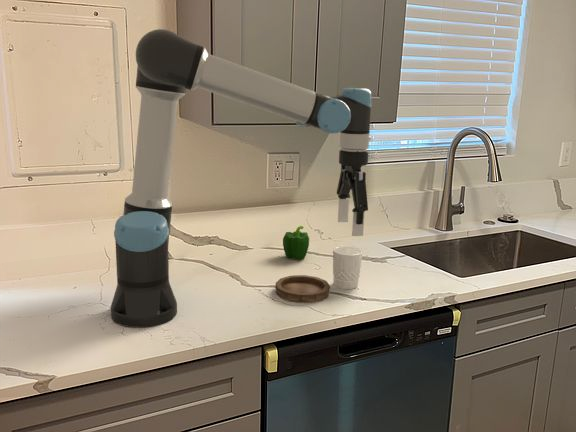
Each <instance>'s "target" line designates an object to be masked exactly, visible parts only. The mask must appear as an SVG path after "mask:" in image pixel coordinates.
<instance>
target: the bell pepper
mask: <svg viewBox="0 0 576 432" xmlns="http://www.w3.org/2000/svg"><path fill="white" fill-rule="evenodd" d="M303 229H304V226H303V225H299V226H298V227H296V230H295V231H292V232H291V231H286V232H285V233H284V236H283V238H282V247H283V250H284V251H283V252H284V255H285V256H286V257H287V259H292V260H295V261H301V260H304V259H305V258H306V256H307V254H308V250H309V246H310V237H309V234H308V232H305V231H304V232H302V231H300V230H303Z"/></svg>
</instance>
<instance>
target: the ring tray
mask: <svg viewBox="0 0 576 432" xmlns="http://www.w3.org/2000/svg"><path fill="white" fill-rule="evenodd" d="M330 291H331V285H330V284H329V283H328V281H327V280H325V279H323V278H320V277H318V276H311V275H307V274H304V275H303V274H302V275H301V274H300V275H299V274H298V275H288V276H284V277H281V278H279V279H278V280H277V281H276V282H275V293H276V295H277V296H278V297H279V298H280V299H283V301H287V302H292V303H297V304H312V303H318V302H322V301H324V300H326V299H327V298H329V295H330Z"/></svg>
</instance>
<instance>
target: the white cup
mask: <svg viewBox="0 0 576 432" xmlns="http://www.w3.org/2000/svg"><path fill="white" fill-rule="evenodd" d="M362 259H363V250H362V249H360V248H358V247H355V246H349V245H342V246H337V247H334V248H333V249H332V275H333V279H332V280H333V281H332V283H333V286H334V287H335V288H338V289H342V290H355V289H357V288H358V287H359V278H360V274H361V267H362Z"/></svg>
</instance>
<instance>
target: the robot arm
mask: <svg viewBox="0 0 576 432" xmlns="http://www.w3.org/2000/svg"><path fill="white" fill-rule="evenodd" d="M135 61H136V64H137V69H136V79H135V88H136V89H137V91H138V92H139V94H140V106H139V107H140V108H139V116H138V128H137V136H136V137H137V138H136V147H135V148H136V150H135V157H134V158H135V159H134V166H133V167H134V168H133V178H132V186H131V188H132V189H131V193H130V194H129V195H128V196H127V197H125V198H124V203H123V215H121V216H120V217H119V218H117V220H116V222H115V224H114V231H113V237H114V240H115V241H114V242H115V257H116V258H115V260H116V263H115V264H116V281H117V283H116V284H117V285H116V288H115V292H114V295H113V298H112V301H111V305H110V319H111V320H112V321H113V322H114V323H116V324H118V325H121V326H124V327H131V328H148V327H155V326H160V325H162V324H164V323H167V322H169V321H171V320H172V319H174V318H175V317H176V316H177V314H178V301H177V299H176V297H175V294H174V291H173V288H172V287H171V283H170V276H169V275H170V273H169V272H170V270H169V269H170V268H169V266H170V265H169V264H170V263H169V242H170V241H169V240H170V234H171V233H170V232H171V228H172V227H171V226H172V225H171V221H172V213H173V202H172V200H170V198H169V197H168V194H169V186H170V185H169V184H170V182H169V181H170V175H171V165H172V158H173V157H172V156H173V149H174V140H175V131H176V121H177V113H178V106H179V105H178V104H179V100H180V99H182V97H184V96H185V95H186V91H187V90H188V91H195V90H197V89H201V90H204V91H207V92H209V93H210V92H211V93H212V94H214V95H219V96H221V97H225V98H227V99H231V100H234V101H237V102H239V103H241V104H244V105H248V106H252V107H254V108H257V109H261V110H262V111H266V112H268V113H272V114H274V115H275V114H276V115H277V116H281V117H283V118H287V119H290V120H293V121H294V122H295V124H296V126H299V127H306V128H308V127H313V128H315V129H318V130H322V131H323V132H325V133H329V134H338V133H339V144H338V145H339V146H338V147H339V148H340V150H339V151H338V152H339V153H338V154H339V155H338V163H339V164H340V173H339V179H338V184H337V188H336V195H337V196H338V208H337V209H338V211H337V222H338V223H348V222H349V210H350V207H349V206H350V205H349V203H350V198H351V196H352V201H353V207H354V208H353V209H352V210H351V211H352V228H351V229H352V230H351V236H352V237H363V236H364V225H365V212H366V211H367V212H368V211H369V206H368V205H369V204H368V196H367V195H368V194H367V184H366V179H367V178H366V177H367V176H366V175H367V174H366V172H365V171H362V167H364V166H367V165H368V164H369V163H368V162H369V151H368V150H367V149H369V146H370V140H371V139H372V136H370V133H371V132H370V131H371V130H370V127H371V117H372V116H371V115H372V109H373V107H372V92H371V90H370V89H368V88H357V87H356V88H355V87H346V88H345V87H344V88H343V89H342V91H341V94H340V95H335V96H331V95H325V94H322V93H319V92H316V91H314V90H311V89H308V88H305V87H303V86H299V85H296V84H294V83H292V82H288V81H285V80H283V79H281V78H277V77H274V76H272V75H270V74H266V73H264V72H262V71H261V72H260V71H258V70H255V69H252V68H249V67H246V66H244V65H241V64H238V63H235V62H233V61H230V60H227V59H225V58H222V57H218V56H216V55H213V54H210V53H209V52H208V50H207V49H206V47H205V46H202V45H199V44H197V43H195V42H192V41H190V40H188V39H187V38H185V37H183V36H182V35H181V36H180V35H179V34H178V33H175V32H174V31H171V30H169V29H161V28H157V29H153V30H150V31H148V32H147V33H145V34H144V35H143V36H142V37H141V38H140V40H139V41H138V43H137V45H136V49H135ZM350 193H351V194H352V195H350Z"/></svg>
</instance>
